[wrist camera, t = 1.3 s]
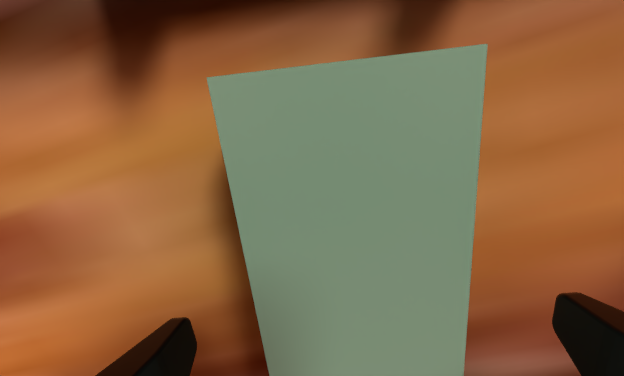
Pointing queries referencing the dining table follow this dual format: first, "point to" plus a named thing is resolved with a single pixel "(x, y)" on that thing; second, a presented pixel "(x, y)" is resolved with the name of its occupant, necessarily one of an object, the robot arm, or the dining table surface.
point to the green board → (357, 208)
